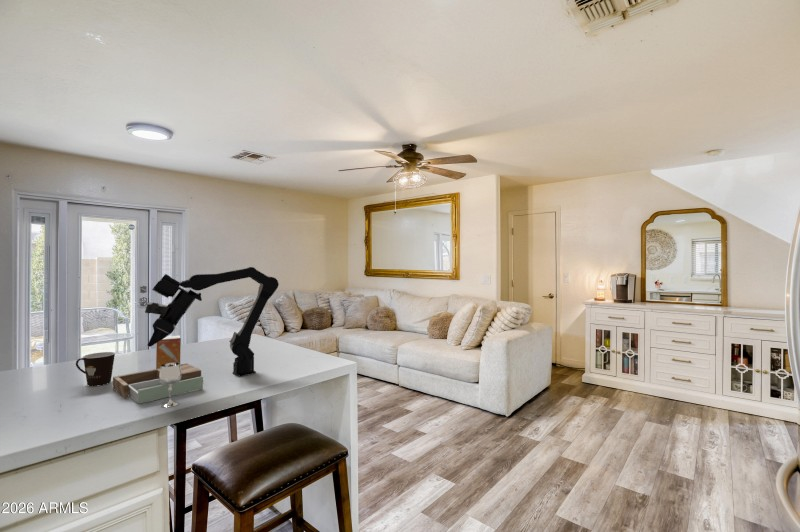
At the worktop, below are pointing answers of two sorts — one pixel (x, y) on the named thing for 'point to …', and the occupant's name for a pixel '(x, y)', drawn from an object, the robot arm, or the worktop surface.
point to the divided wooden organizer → (149, 378)
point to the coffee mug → (98, 367)
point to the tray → (162, 389)
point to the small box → (168, 350)
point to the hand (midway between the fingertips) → (151, 343)
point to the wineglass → (170, 379)
